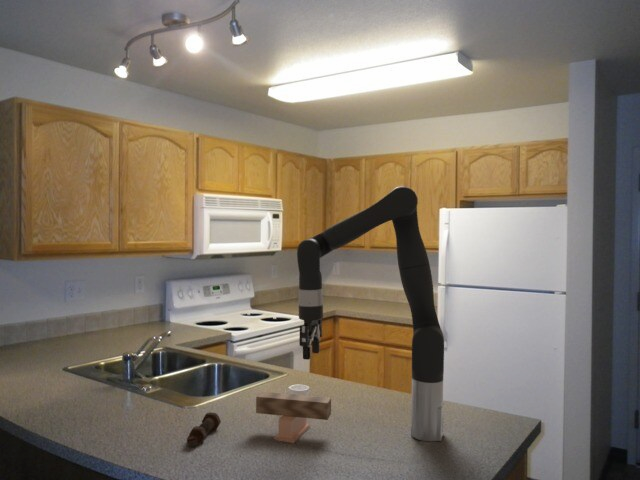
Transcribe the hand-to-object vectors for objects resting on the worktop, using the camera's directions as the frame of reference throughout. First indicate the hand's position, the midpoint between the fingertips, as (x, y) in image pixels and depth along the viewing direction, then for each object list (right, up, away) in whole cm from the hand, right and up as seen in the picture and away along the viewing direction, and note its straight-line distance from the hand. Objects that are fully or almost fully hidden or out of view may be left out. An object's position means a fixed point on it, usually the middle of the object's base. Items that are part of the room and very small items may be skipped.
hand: (311, 355), depth 164 cm
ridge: (-6, -22, -4) cm, 23 cm away
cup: (-6, -22, +16) cm, 28 cm away
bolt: (-32, -23, -8) cm, 40 cm away
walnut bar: (-5, -16, -4) cm, 18 cm away
